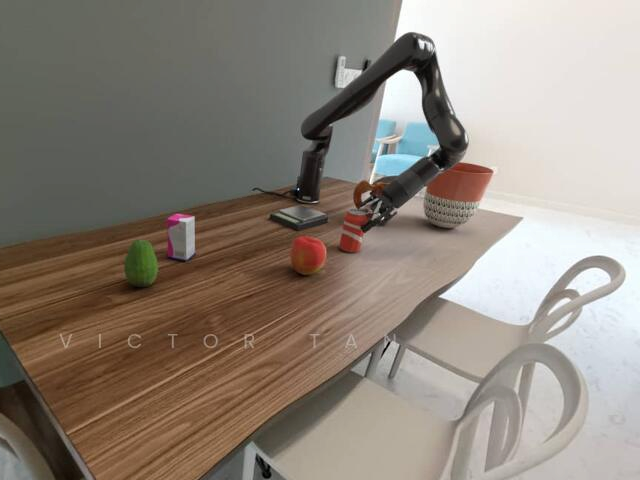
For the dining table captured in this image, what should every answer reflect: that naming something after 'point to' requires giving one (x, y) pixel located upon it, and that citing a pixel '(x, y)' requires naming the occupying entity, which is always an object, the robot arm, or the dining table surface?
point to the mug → (365, 187)
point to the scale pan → (302, 213)
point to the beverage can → (352, 230)
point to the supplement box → (181, 237)
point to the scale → (296, 221)
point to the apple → (307, 255)
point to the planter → (456, 194)
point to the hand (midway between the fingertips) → (356, 225)
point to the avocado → (141, 264)
